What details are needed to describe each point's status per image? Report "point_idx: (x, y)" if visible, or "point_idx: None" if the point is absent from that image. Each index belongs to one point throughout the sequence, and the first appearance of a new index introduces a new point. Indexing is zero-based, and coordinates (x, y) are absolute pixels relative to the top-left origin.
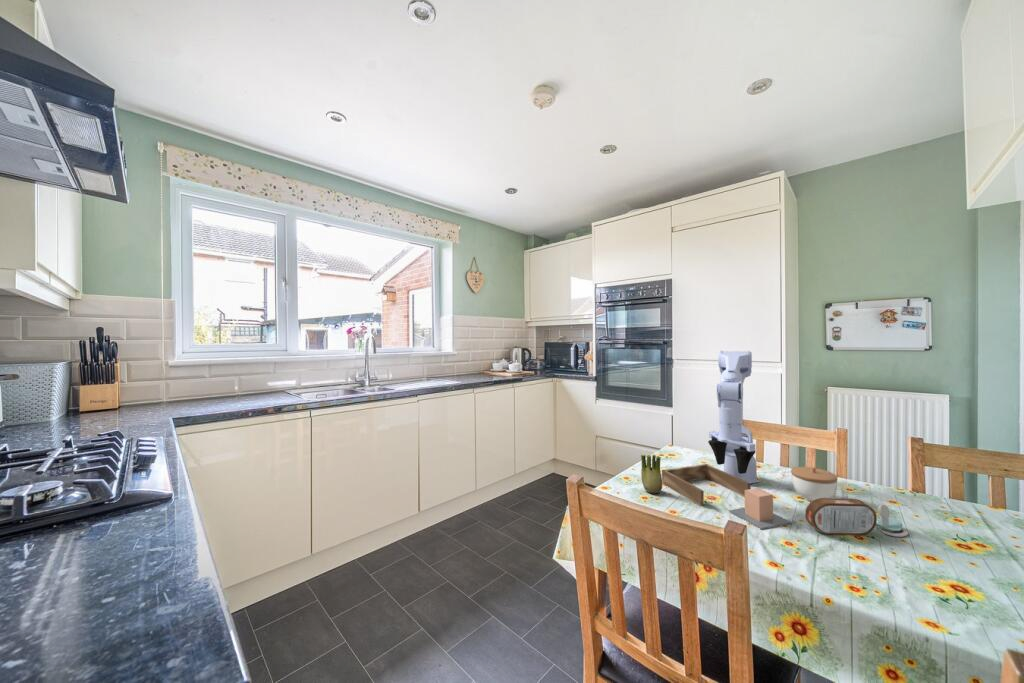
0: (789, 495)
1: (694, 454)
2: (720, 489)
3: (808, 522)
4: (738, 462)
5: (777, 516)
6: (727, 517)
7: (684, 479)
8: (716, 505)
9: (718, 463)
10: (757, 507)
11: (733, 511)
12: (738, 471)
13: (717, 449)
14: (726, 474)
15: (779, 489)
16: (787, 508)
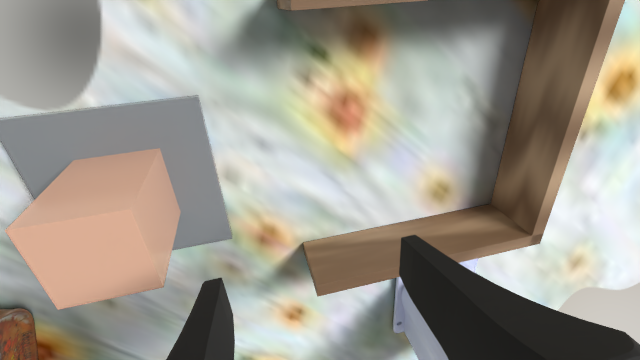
0: (292, 354)
1: (627, 268)
2: (397, 195)
3: (6, 311)
4: (189, 355)
5: None
6: (135, 42)
7: (522, 103)
8: (271, 80)
9: (406, 241)
10: (57, 188)
11: (183, 109)
12: (218, 285)
13: (483, 333)
14: None
15: (334, 350)
16: None
